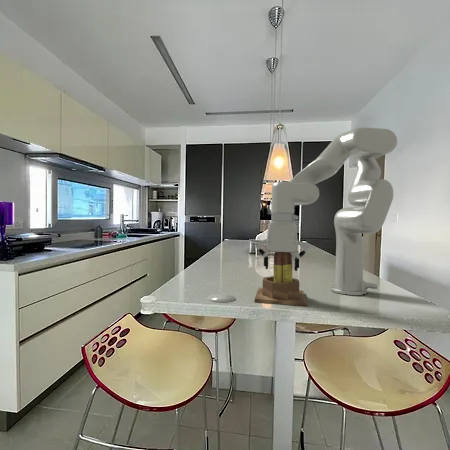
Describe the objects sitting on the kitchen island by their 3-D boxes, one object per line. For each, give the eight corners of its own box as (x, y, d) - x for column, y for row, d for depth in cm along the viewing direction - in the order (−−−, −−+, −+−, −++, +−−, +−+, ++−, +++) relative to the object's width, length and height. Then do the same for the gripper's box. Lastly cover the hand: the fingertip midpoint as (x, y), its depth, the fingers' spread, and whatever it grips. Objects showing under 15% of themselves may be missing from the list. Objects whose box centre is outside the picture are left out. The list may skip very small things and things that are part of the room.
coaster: (236, 297, 97) (236, 295, 97) (232, 304, 88) (232, 302, 88) (211, 295, 99) (211, 293, 99) (204, 302, 90) (204, 299, 90)
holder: (303, 293, 103) (303, 276, 103) (306, 306, 87) (307, 286, 87) (258, 290, 106) (259, 274, 106) (254, 302, 90) (254, 283, 90)
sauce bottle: (293, 293, 99) (294, 235, 98) (291, 297, 93) (293, 236, 92) (274, 291, 101) (275, 235, 100) (271, 295, 95) (272, 235, 94)
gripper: (308, 219, 98) (306, 269, 98) (257, 218, 102) (256, 266, 102) (310, 219, 91) (308, 272, 91) (255, 218, 94) (254, 269, 95)
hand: (281, 269), depth 96 cm, fingers open, 9 cm apart
